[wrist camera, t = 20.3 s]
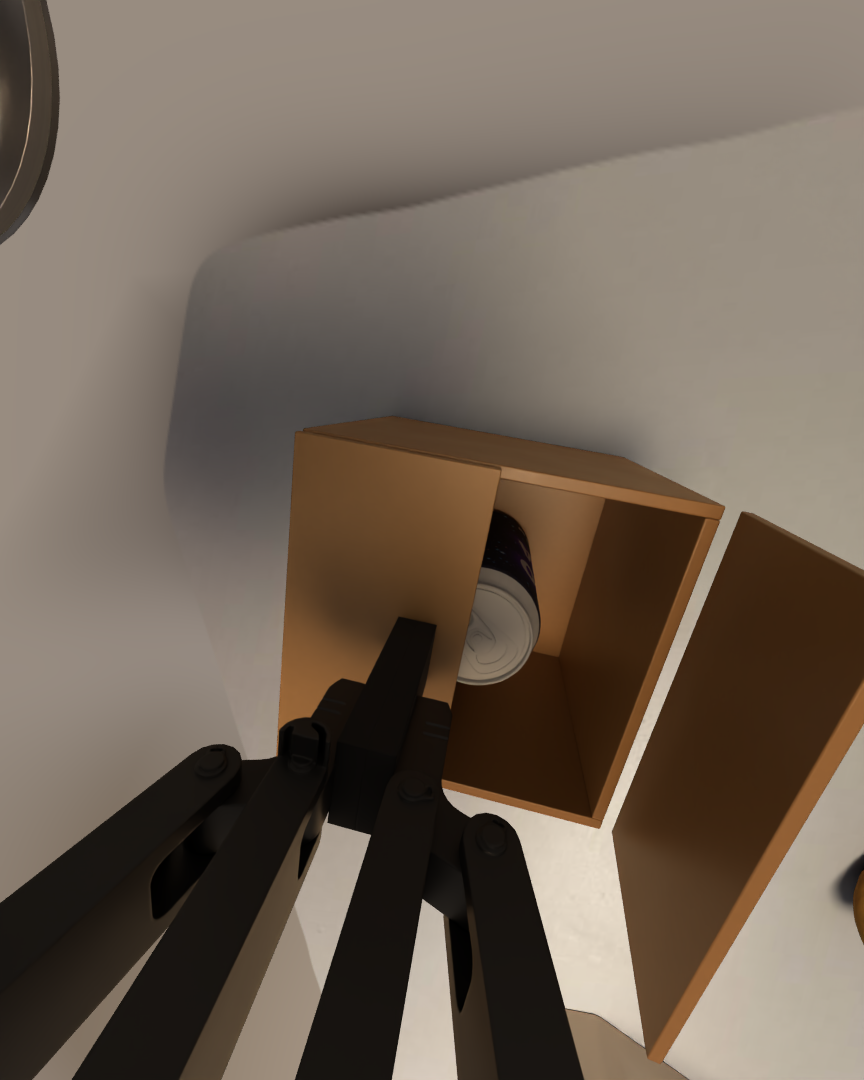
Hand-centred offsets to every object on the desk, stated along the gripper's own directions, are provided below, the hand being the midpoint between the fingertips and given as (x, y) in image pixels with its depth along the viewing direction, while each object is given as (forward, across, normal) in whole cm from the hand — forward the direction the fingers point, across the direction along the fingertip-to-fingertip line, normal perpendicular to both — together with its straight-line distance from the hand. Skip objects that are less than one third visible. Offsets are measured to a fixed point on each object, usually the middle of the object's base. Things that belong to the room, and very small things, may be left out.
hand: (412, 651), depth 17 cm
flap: (+1, -2, 0) cm, 2 cm away
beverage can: (+14, +2, 0) cm, 14 cm away
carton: (+15, +2, 0) cm, 15 cm away
